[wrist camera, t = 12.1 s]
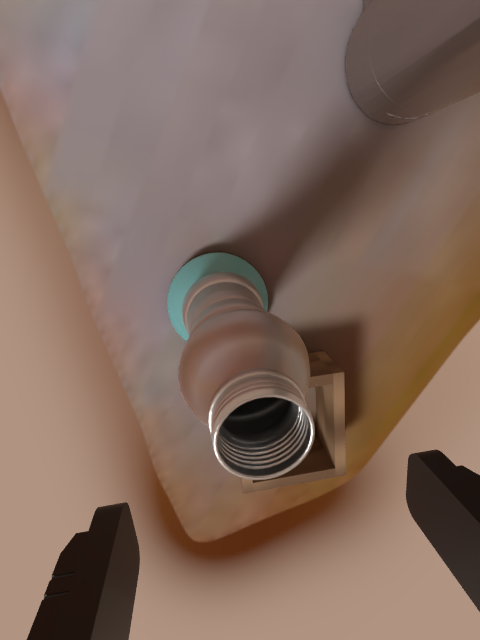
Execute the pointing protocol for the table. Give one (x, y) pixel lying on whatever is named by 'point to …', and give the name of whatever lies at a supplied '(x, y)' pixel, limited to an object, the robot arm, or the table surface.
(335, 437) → the walnut holder
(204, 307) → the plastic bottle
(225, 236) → the table surface
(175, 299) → the teal coaster
